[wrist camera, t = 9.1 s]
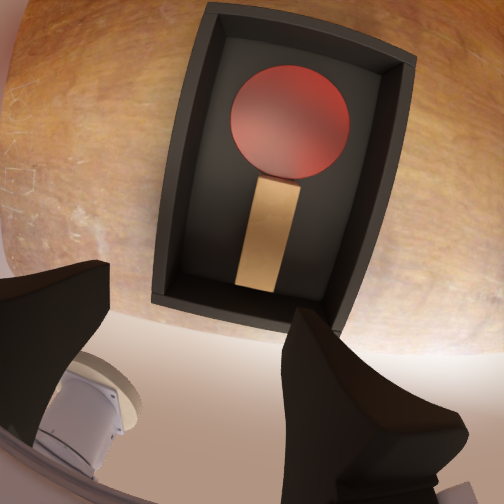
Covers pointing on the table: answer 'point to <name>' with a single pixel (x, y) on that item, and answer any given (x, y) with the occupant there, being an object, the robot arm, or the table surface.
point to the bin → (245, 174)
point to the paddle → (282, 156)
